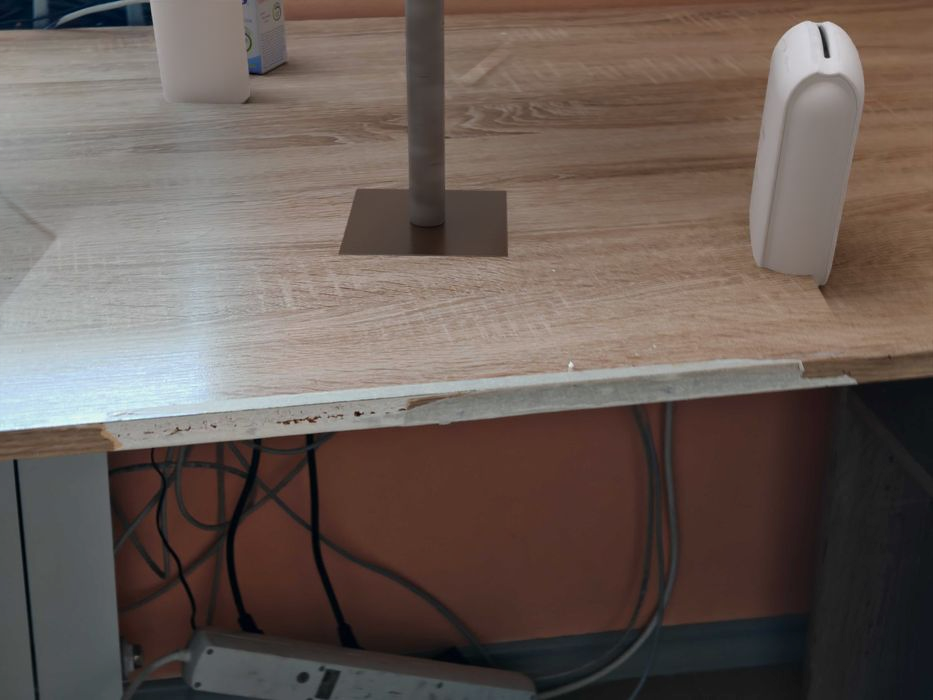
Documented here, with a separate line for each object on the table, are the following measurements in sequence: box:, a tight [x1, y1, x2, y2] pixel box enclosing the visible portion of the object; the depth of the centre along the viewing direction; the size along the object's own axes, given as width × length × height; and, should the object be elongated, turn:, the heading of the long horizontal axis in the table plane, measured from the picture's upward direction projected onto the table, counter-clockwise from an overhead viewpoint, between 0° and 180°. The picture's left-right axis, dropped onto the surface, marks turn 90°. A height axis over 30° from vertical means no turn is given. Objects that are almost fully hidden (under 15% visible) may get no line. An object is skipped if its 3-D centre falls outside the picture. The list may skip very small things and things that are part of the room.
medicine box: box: [242, 0, 288, 75], centre depth 89 cm, size 8×4×9 cm, turn 70°
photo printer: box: [748, 20, 866, 287], centre depth 57 cm, size 10×4×12 cm, turn 169°
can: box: [149, 0, 251, 105], centre depth 79 cm, size 6×6×12 cm
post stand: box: [338, 0, 509, 258], centre depth 57 cm, size 9×9×17 cm
